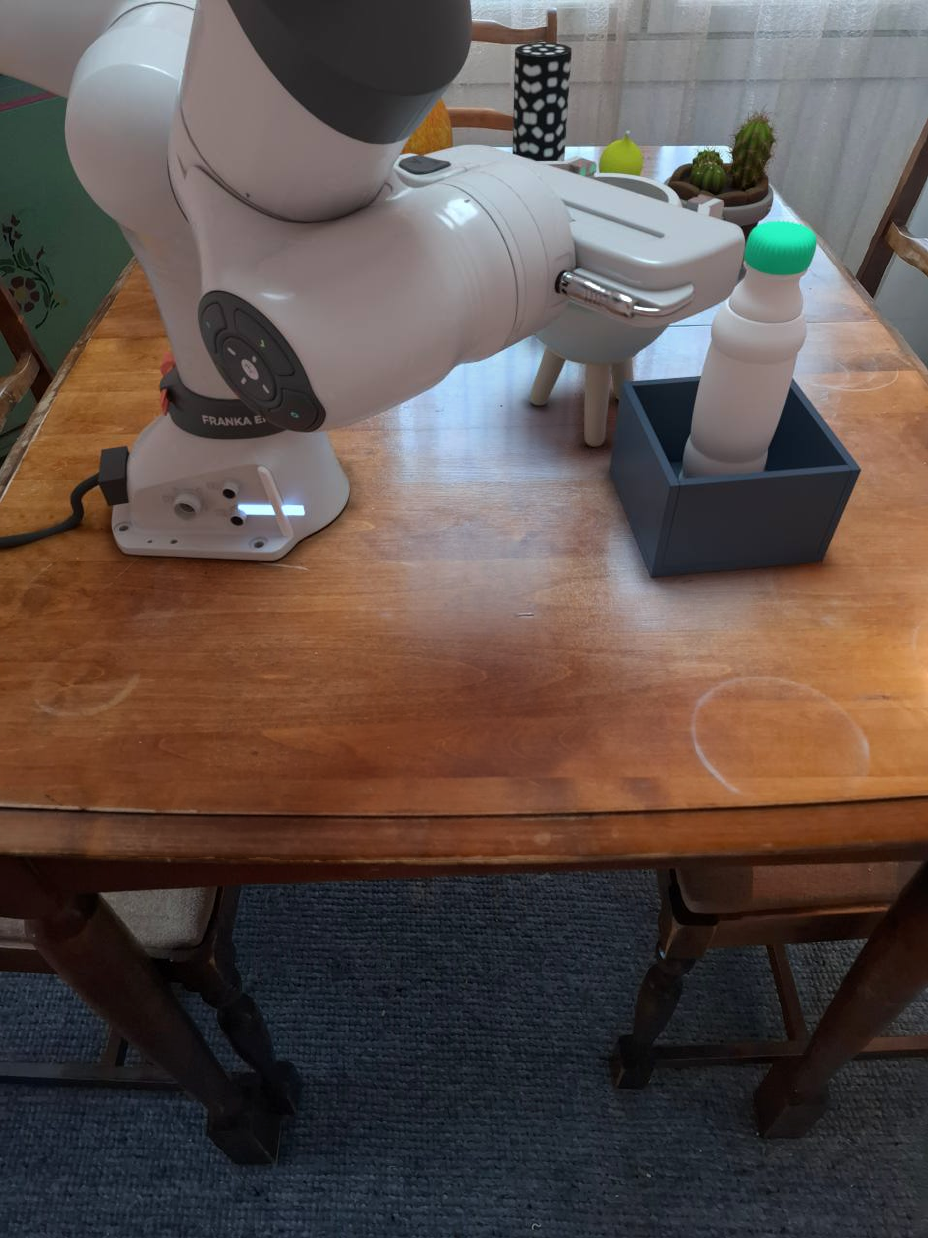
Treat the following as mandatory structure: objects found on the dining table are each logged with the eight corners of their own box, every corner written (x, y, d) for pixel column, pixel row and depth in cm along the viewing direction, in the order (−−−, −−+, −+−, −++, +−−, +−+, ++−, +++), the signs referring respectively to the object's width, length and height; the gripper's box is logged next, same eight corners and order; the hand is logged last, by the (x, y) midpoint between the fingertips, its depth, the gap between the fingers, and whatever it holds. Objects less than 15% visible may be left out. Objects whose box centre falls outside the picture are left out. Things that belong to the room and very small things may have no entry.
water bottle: (751, 535, 72) (842, 254, 53) (671, 526, 73) (734, 247, 54) (749, 487, 76) (833, 213, 58) (674, 479, 78) (733, 207, 59)
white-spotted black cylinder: (504, 189, 134) (507, 45, 119) (550, 183, 135) (558, 40, 121) (521, 207, 128) (526, 58, 114) (569, 200, 130) (580, 53, 115)
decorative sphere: (339, 188, 135) (322, 46, 121) (457, 188, 135) (454, 44, 120) (320, 236, 122) (298, 82, 107) (451, 235, 121) (447, 80, 106)
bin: (650, 577, 70) (670, 485, 62) (609, 470, 80) (621, 381, 73) (822, 561, 71) (861, 469, 63) (759, 458, 81) (786, 368, 74)
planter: (489, 393, 91) (490, 179, 74) (615, 365, 94) (643, 156, 78) (549, 472, 80) (566, 245, 64) (688, 438, 84) (738, 214, 68)
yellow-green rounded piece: (620, 199, 130) (628, 129, 123) (588, 187, 134) (594, 119, 126) (648, 187, 133) (657, 119, 126) (615, 177, 137) (623, 110, 129)
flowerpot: (644, 287, 108) (669, 118, 93) (653, 241, 118) (677, 83, 103) (755, 297, 106) (799, 125, 91) (754, 249, 116) (794, 88, 101)
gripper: (664, 257, 36) (816, 176, 42) (367, 151, 45) (528, 99, 52) (641, 383, 40) (782, 293, 47) (376, 262, 50) (523, 201, 57)
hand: (646, 190), depth 50 cm, fingers open, 8 cm apart
